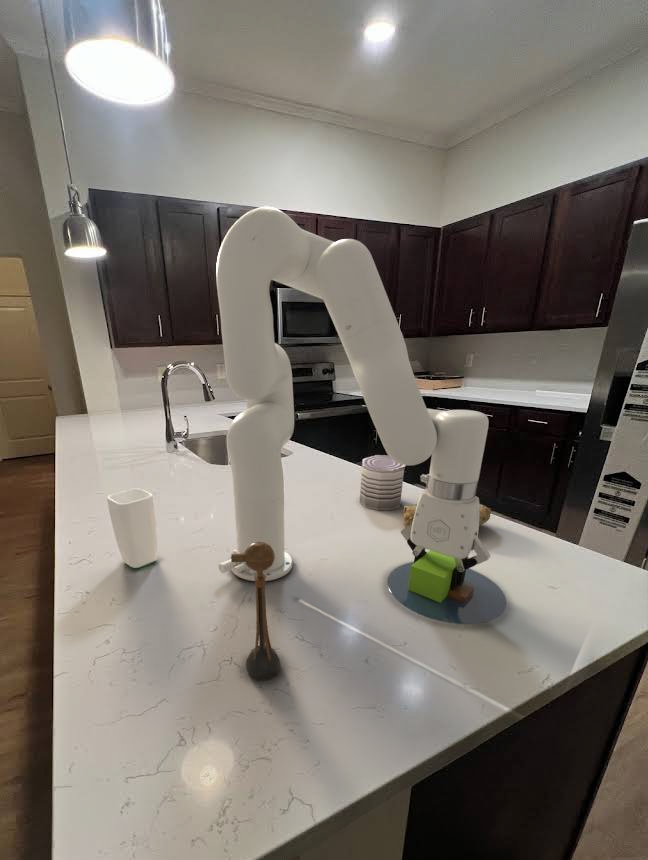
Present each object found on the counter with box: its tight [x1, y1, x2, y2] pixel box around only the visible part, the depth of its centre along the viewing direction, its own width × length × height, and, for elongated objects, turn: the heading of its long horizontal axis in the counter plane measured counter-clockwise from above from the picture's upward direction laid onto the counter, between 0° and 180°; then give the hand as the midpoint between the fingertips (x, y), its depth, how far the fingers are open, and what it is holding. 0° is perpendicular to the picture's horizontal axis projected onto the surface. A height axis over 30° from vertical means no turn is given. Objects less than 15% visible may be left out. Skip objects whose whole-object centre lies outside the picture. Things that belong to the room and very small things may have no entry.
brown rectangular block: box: [448, 584, 474, 603], centre depth 74 cm, size 4×3×1 cm
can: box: [359, 454, 407, 511], centre depth 113 cm, size 11×11×12 cm
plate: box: [386, 561, 507, 625], centre depth 76 cm, size 20×20×1 cm
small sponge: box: [408, 550, 456, 603], centre depth 76 cm, size 10×6×5 cm, turn 136°
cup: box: [106, 487, 158, 569], centre depth 85 cm, size 7×7×15 cm
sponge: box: [402, 503, 492, 528], centre depth 99 cm, size 13×8×20 cm
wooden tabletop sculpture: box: [230, 542, 281, 681], centre depth 55 cm, size 6×5×20 cm
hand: (437, 579), depth 76 cm, fingers closed on small sponge, 6 cm apart
